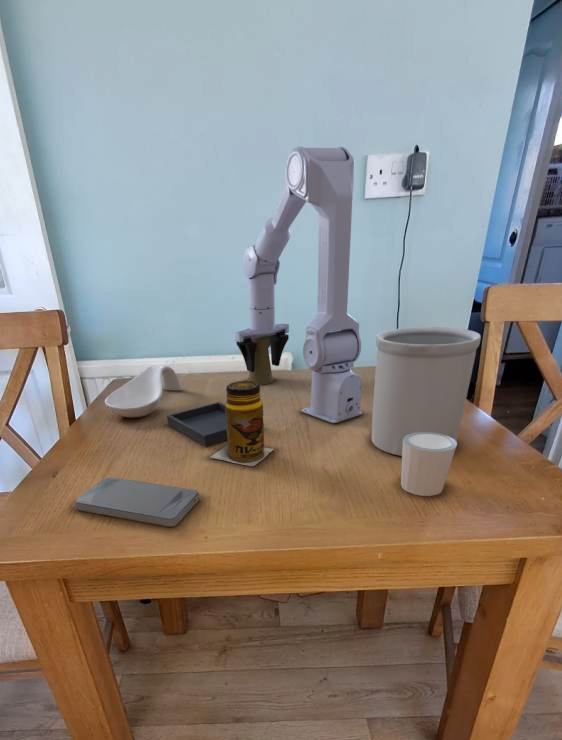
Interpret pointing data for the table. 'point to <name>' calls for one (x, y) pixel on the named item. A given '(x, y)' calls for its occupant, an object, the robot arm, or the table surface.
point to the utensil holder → (421, 383)
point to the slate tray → (202, 423)
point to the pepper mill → (261, 362)
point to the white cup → (426, 462)
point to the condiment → (244, 425)
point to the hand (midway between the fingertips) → (263, 368)
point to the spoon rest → (142, 392)
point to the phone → (138, 501)
